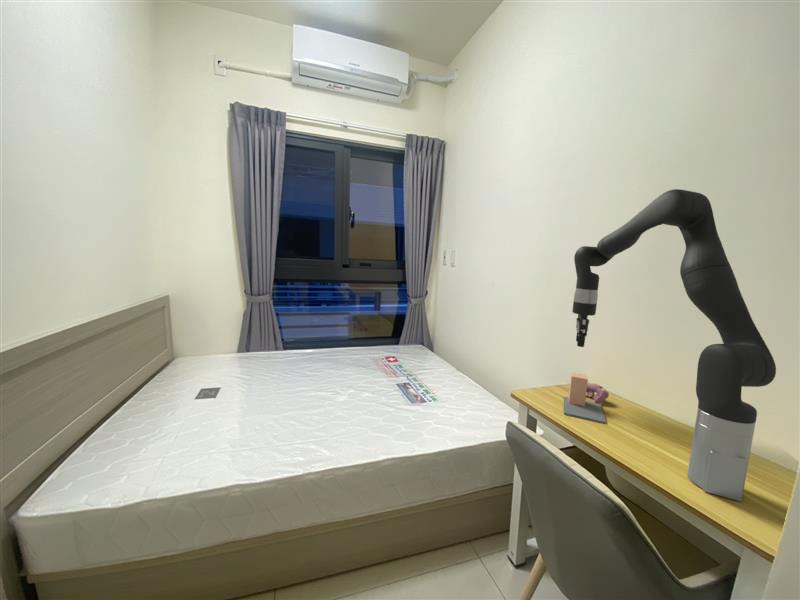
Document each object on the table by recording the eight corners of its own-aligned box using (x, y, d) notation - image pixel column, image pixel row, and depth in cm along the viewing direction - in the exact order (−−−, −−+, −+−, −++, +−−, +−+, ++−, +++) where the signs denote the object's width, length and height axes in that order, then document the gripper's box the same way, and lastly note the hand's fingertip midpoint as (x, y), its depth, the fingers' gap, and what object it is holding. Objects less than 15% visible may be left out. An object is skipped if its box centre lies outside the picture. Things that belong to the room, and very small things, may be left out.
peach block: (584, 406, 113) (587, 379, 112) (568, 403, 116) (571, 376, 114) (583, 401, 118) (586, 375, 117) (568, 398, 120) (571, 372, 119)
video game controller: (604, 408, 118) (613, 392, 118) (595, 404, 116) (604, 387, 116) (583, 397, 127) (591, 382, 127) (575, 393, 126) (583, 377, 126)
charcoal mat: (605, 423, 102) (606, 422, 102) (563, 414, 107) (564, 412, 107) (600, 405, 116) (600, 403, 116) (563, 398, 122) (563, 396, 122)
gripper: (599, 304, 110) (593, 350, 112) (595, 300, 123) (589, 341, 125) (574, 302, 113) (569, 346, 115) (572, 298, 126) (568, 338, 128)
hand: (579, 344), depth 120 cm, fingers open, 8 cm apart
